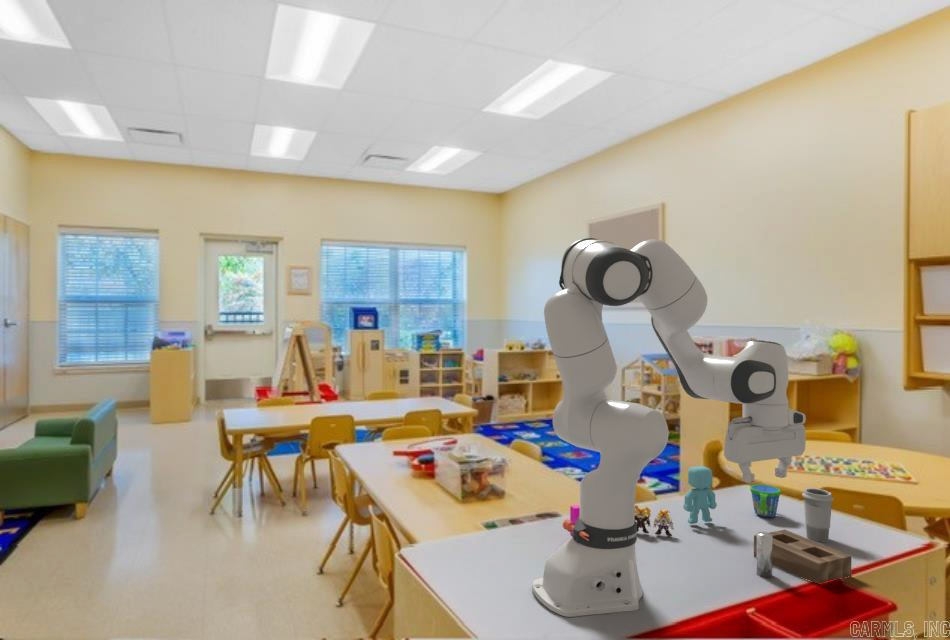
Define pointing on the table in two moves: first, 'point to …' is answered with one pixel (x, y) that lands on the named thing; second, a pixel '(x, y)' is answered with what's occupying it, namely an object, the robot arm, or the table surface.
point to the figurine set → (662, 519)
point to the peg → (764, 554)
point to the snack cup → (765, 499)
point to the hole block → (807, 557)
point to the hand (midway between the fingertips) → (764, 479)
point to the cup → (817, 513)
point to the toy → (699, 494)
